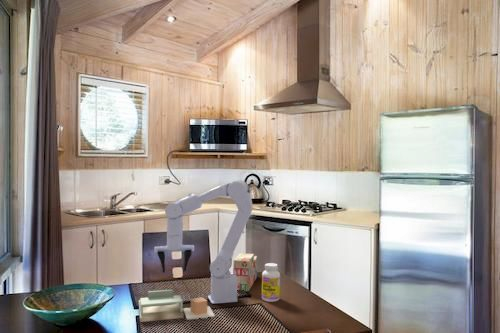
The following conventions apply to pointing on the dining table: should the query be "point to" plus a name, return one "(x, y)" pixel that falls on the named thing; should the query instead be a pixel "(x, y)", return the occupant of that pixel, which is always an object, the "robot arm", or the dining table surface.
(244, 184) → the robot arm
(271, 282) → the supplement bottle
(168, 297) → the sliding cover
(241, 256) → the printed cardboard box
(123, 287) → the dining table surface
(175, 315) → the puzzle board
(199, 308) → the block
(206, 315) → the tile
